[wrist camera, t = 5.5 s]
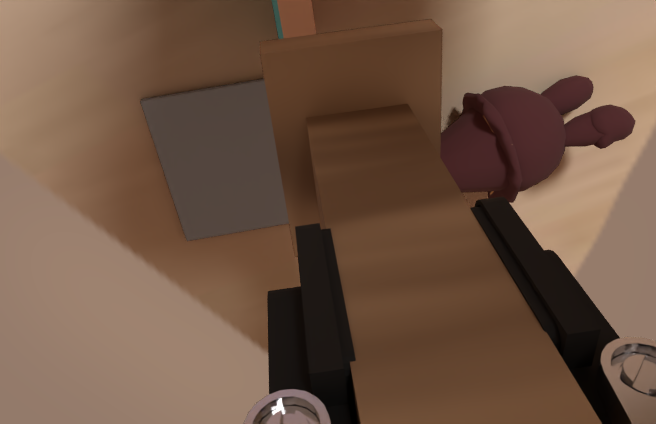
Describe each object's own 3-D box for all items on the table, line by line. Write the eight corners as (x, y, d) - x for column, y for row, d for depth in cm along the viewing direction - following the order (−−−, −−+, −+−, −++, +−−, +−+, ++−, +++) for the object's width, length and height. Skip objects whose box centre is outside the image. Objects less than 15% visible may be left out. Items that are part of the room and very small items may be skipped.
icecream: (409, 270, 32) (640, 179, 32) (386, 186, 27) (663, 77, 27) (372, 196, 37) (573, 116, 37) (347, 113, 32) (581, 19, 32)
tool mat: (141, 99, 32) (140, 101, 31) (291, 73, 32) (292, 75, 32) (187, 237, 37) (186, 241, 37) (316, 215, 37) (317, 218, 37)
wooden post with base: (259, 41, 16) (260, 386, 5) (430, 19, 16) (745, 311, 6) (293, 236, 19) (329, 651, 9) (429, 216, 20) (614, 603, 9)
